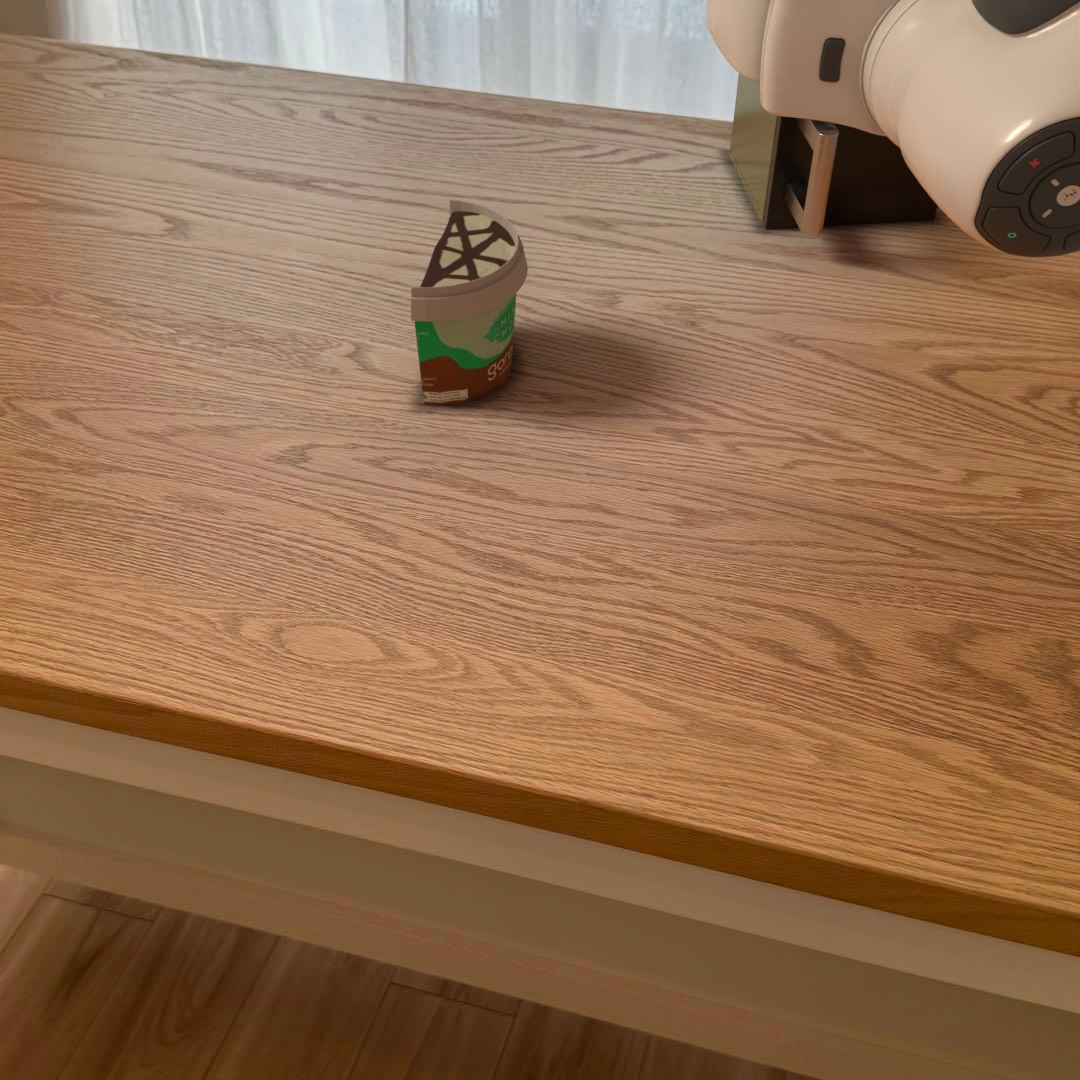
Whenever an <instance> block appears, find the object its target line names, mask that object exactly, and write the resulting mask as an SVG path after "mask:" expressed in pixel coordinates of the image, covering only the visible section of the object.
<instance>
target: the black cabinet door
mask: <svg viewBox="0 0 1080 1080" xmlns="http://www.w3.org/2000/svg"><path fill="white" fill-rule="evenodd" d="M938 208H939V206H938V205H937V204H936V203H935V202H934V201H933V200H932V198H931V197H930V196H929V195H928V193H927V192H926V191H925V190H924V188H923V187H922V185H921V184H920V183H919V181H918V180H917V179H916V177H915V176H914V174H913V173H912V172H911V170H910V169H909V167H908V166H907V164H906V162H905V160H904V157H903V155H902V152H901V148H899V147H898V146H897V145H895V144H894V143H893V142H892V141H891V140H890V139H889V138H888V137H887V136H881V135H876V134H873V133H869V132H866V131H863V130H860V129H857V128H854V127H850V126H846V125H842V124H837V123H832V122H824V121H818V120H811V119H802V118H794V117H784V116H778V118H777V125H776V132H775V140H774V147H773V154H772V161H771V169H770V176H769V183H768V190H767V198H766V205H765V212H764V219H763V222H762V226H763V228H764V229H765V231H766V230H767V231H768V230H769V231H770V230H786V229H787V230H789V229H790V230H791V229H799V230H800V232H801V233H802V234H803V235H804V236H807V237H818V236H821V235H822V233H823V229H824V228H827V227H845V226H862V225H863V226H865V225H878V224H879V225H882V224H899V223H900V224H901V223H902V224H903V223H920V222H921V223H922V222H934V221H935V218H936V216H937V211H938Z"/></svg>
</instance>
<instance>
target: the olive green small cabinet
mask: <svg viewBox="0 0 1080 1080" xmlns="http://www.w3.org/2000/svg"><path fill="white" fill-rule="evenodd" d="M777 118H778V116H777V115H774V114H771V113H769V112H767V111H766V110H765V109H764V108H763V106H762V104H761V100H760V84H759V83H756V82H753V81H751V80H749V79H747V78H745V77H743V76H742V75H741V74H739V73H738V78H737V86H736V94H735V103H734V113H733V121H732V128H731V129H732V131H731V137H730V138H731V140H730V148H729V158H730V160H731V162H732V164H733V166H734V168H735V170H736V172H737V175H738V176H739V179H740V180H741V183H742V184H743V187H744V189H745V191H746V192H747V195H748V197H749V199H750V201H751V203H752V205H753V207H754V209H755V211H756V213H757V215H758V217H759V219H760V222H762V223H763V219H764V212H765V205H766V198H767V190H768V183H769V176H770V169H771V161H772V154H773V147H774V140H775V132H776V125H777Z"/></svg>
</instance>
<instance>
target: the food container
mask: <svg viewBox="0 0 1080 1080" xmlns="http://www.w3.org/2000/svg"><path fill="white" fill-rule="evenodd" d="M431 254H432V255H431V258H430V261H429V263H428V266H427V269H426V271H425V274H424V276H423V279H422V281H421V284H420V286H411V287H410V291H411V298H410V321H411V322H414V329H415V338H416V339H415V340H416V346H417V347H416V348H417V354H418V366H419V374H420V381H421V382H420V383H421V391H422V399H423V400H422V401H423V405H426V406H427V405H428V406H429V405H430V406H446V405H447V406H448V405H454V404H463V403H467V402H470V401H474V400H476V399H479V398H482V397H485V396H487V395H488V394H490V393H491V392H493V391H495V390H496V389H498V388H499V387H501V386H502V384H503V383H504V382H505V381H506V380H507V379H508V378H509V375H510V373H511V370H512V363H513V348H514V333H515V320H516V306H517V305H516V304H517V293H518V292H519V290H521V288H522V287H523V286H524V284H525V281H526V280H527V277H528V272H529V269H528V261H527V256H526V253H525V248H524V245H523V242H522V239H521V237H520V235H519V234H518V232H517V230H516V228H515V226H514V225H513V224H512V222H511V221H510V220H509V219H507V218H506V216H504V215H503V214H501V213H499V212H497V211H495V209H491V208H489V207H487V206H484V205H481V204H477V203H474V202H469V201H466V200H465V201H464V200H457V199H449V217H448V221H447V224H446V227H445V229H444V231H443V233H442V235H441V236H440V238H439V239H438V242H436V244H435V246H434V248H433V251H432V253H431Z"/></svg>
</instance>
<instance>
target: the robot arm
mask: <svg viewBox="0 0 1080 1080" xmlns="http://www.w3.org/2000/svg"><path fill="white" fill-rule="evenodd" d="M706 3H707V4H706V25H707V29H708V32H709V34H710V36H711V38H712V40H713V41H714V44H715V45H716V48H718V50H719V52H721V54H722V56H723V57H724V58H725V60H726V61H727V62H728V64H729V65H730V66H731V67H732V68H733V70H734V71H736V72H737V73H738V75H739V74H741V75H742V76H743V77H745V78H747V79H749V80H751V81H753V82H756V83H759V84H760V100H761V104H762V106H763V108H764V109H765V110H766V111H767V112H769V113H771V114H774V115H777V116H784V117H794V118H802V119H811V120H818V121H824V122H832V123H837V124H842V125H846V126H850V127H854V128H857V129H860V130H863V131H866V132H869V133H873V134H876V135H881V136H887V137H888V138H889V139H890V140H891V141H892V142H893V143H894V144H895V145H897V146H898V147H899V148H901V152H902V155H903V157H904V160H905V162H906V164H907V166H908V167H909V169H910V170H911V172H912V173H913V174H914V176H915V177H916V179H917V180H918V181H919V183H920V184H921V185H922V187H923V188H924V190H925V191H926V192H927V193H928V195H929V196H930V197H931V198H932V200H933V201H934V202H935V203H936V204H937V205H938V208H939V209H940V210H941V211H942V212H943V213H944V214H945V215H946V216H947V218H949V219H950V220H951V221H952V222H953V223H954V224H955V225H956V226H957V227H958V228H959V229H960V230H961V231H963V232H964V233H966V234H967V235H968V236H969V237H971V238H972V239H974V240H975V241H977V242H979V243H981V244H982V245H984V246H987V247H988V248H991V249H993V250H995V251H997V252H1000V253H1003V254H1007V255H1011V256H1015V257H1024V258H1054V257H1061V256H1067V255H1070V254H1074V253H1077V252H1080V0H707V2H706Z"/></svg>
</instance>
